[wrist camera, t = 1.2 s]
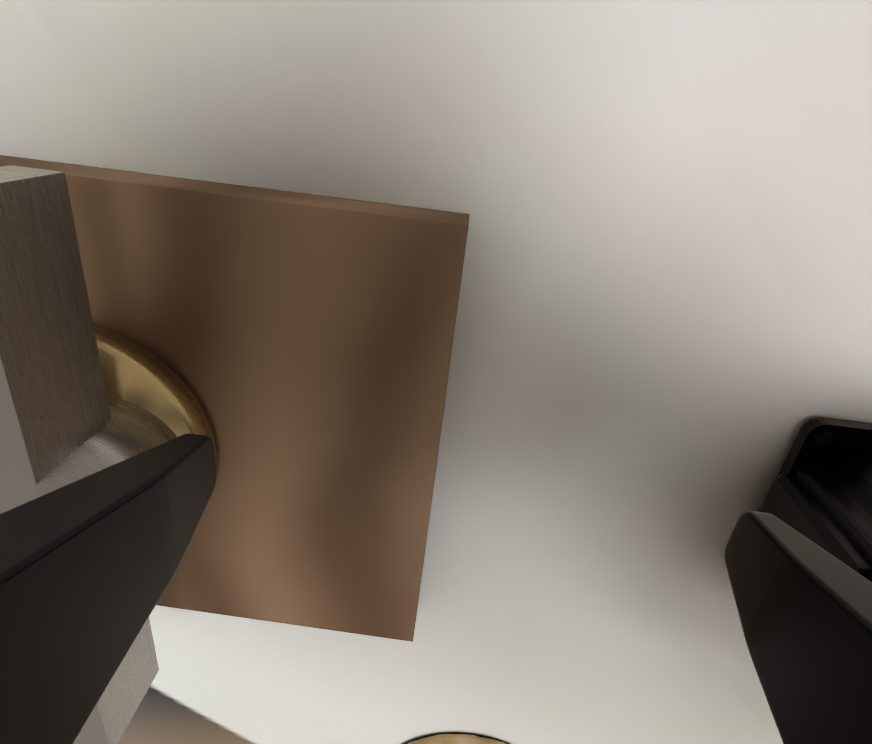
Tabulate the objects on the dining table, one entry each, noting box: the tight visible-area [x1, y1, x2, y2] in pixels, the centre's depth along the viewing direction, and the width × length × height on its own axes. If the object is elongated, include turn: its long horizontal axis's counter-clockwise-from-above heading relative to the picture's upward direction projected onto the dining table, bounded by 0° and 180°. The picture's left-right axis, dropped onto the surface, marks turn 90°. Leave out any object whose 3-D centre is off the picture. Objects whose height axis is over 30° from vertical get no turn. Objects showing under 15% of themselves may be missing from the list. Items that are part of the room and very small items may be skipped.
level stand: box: [0, 155, 469, 641], centre depth 18 cm, size 16×16×3 cm
